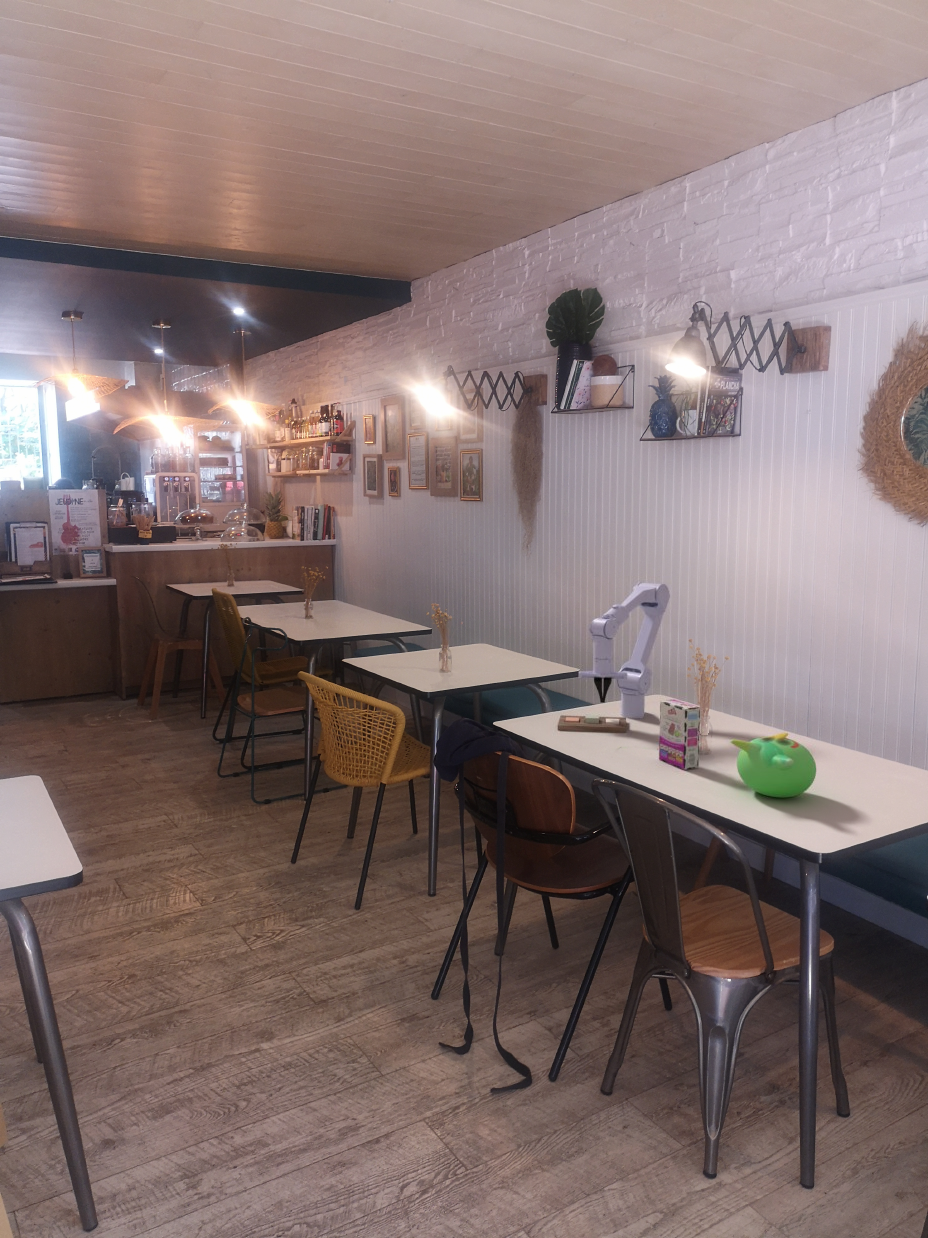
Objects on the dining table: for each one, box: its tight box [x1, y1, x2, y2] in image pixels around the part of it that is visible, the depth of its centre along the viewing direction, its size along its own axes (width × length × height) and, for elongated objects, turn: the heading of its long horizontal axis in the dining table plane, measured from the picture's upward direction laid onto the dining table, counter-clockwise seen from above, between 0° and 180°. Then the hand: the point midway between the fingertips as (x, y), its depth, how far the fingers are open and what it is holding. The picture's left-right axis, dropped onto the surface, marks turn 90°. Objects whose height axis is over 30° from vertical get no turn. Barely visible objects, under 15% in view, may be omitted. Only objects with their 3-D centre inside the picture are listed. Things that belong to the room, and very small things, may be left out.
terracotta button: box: [565, 717, 579, 723], centre depth 276 cm, size 4×4×3 cm
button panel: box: [557, 714, 627, 734], centre depth 275 cm, size 12×20×3 cm, turn 80°
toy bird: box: [730, 732, 817, 798], centre depth 216 cm, size 18×17×15 cm
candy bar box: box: [658, 699, 701, 771], centre depth 241 cm, size 11×5×16 cm, turn 25°
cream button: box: [606, 719, 619, 724], centre depth 274 cm, size 4×4×3 cm
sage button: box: [585, 714, 600, 723], centre depth 275 cm, size 4×4×3 cm
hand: (602, 702), depth 277 cm, fingers closed
